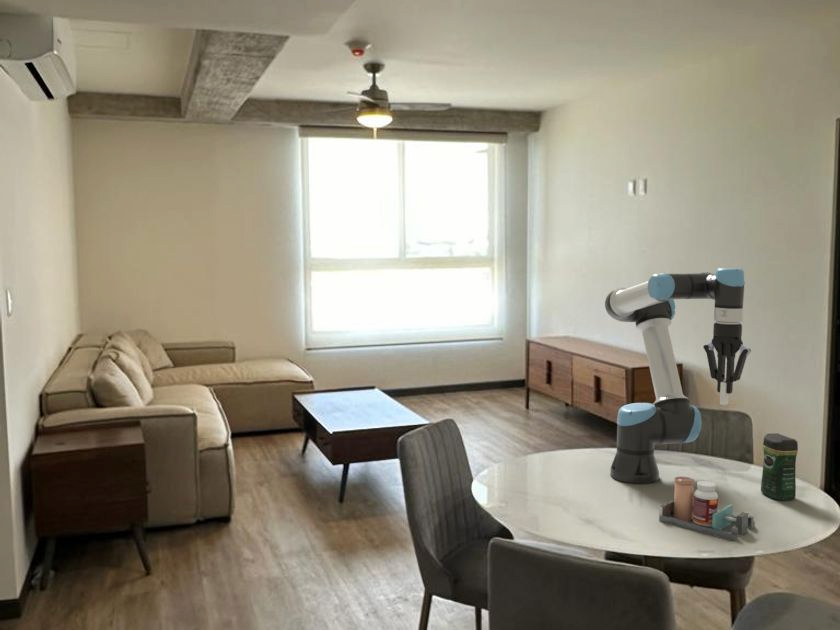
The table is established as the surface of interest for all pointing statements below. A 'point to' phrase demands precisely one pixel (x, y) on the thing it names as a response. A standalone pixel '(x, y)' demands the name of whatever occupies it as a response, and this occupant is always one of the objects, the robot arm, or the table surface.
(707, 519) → the pill bottle
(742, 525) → the pusher plate
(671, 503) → the grey rail frame
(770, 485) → the coffee jar
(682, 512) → the tan rounded cylinder
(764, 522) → the table surface
